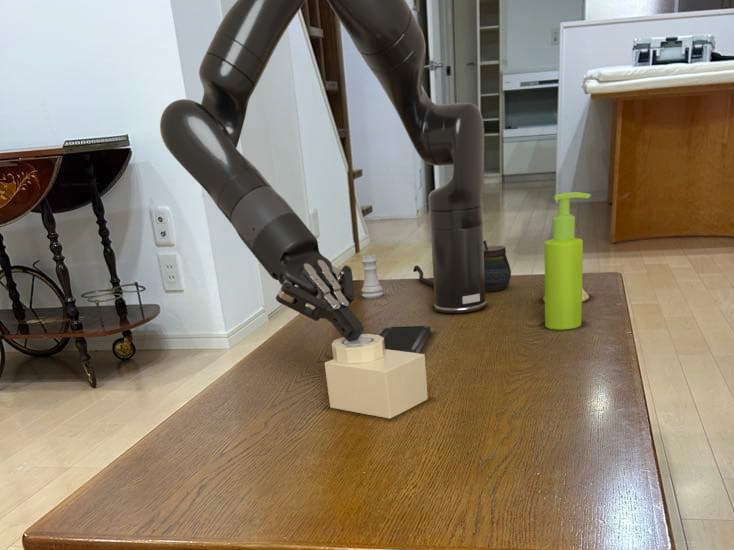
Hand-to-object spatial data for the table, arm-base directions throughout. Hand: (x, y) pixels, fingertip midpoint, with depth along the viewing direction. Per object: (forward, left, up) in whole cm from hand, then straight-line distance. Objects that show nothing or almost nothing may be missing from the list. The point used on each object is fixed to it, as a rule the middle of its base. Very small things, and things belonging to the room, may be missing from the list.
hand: (357, 336), depth 104 cm
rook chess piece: (-61, +24, -9) cm, 67 cm away
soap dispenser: (-16, +41, -9) cm, 45 cm away
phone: (-22, +14, -9) cm, 28 cm away
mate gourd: (-49, +45, -9) cm, 68 cm away
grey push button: (0, 0, -3) cm, 3 cm away
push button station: (+2, +1, -9) cm, 9 cm away
